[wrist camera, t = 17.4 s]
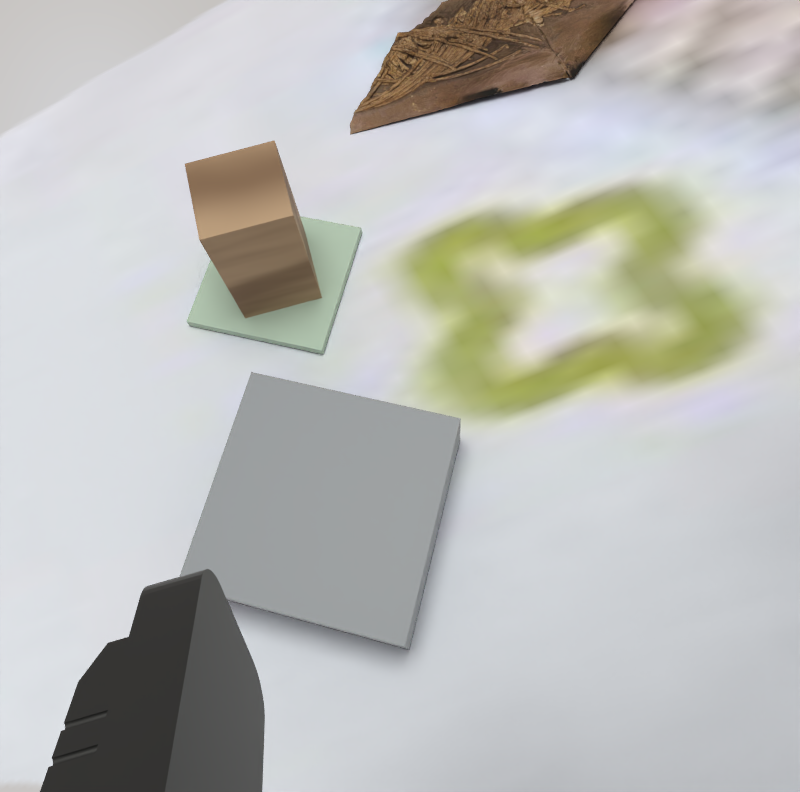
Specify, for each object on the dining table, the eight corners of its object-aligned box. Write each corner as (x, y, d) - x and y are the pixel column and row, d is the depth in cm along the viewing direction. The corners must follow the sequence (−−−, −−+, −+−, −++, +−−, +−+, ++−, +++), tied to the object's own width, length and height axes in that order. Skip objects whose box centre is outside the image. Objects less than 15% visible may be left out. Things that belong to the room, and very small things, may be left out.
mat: (362, 232, 49) (360, 227, 48) (323, 354, 46) (321, 350, 46) (235, 209, 50) (232, 203, 50) (189, 325, 47) (186, 321, 47)
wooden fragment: (608, -67, 58) (611, -80, 57) (693, 24, 54) (697, 12, 53) (310, 70, 55) (308, 59, 54) (378, 177, 51) (377, 167, 50)
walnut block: (321, 297, 47) (293, 215, 38) (245, 318, 47) (199, 239, 38) (305, 233, 49) (274, 140, 40) (231, 252, 49) (184, 163, 40)
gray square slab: (459, 440, 44) (460, 418, 40) (409, 649, 40) (404, 646, 36) (268, 397, 45) (251, 372, 42) (201, 592, 41) (176, 584, 38)
